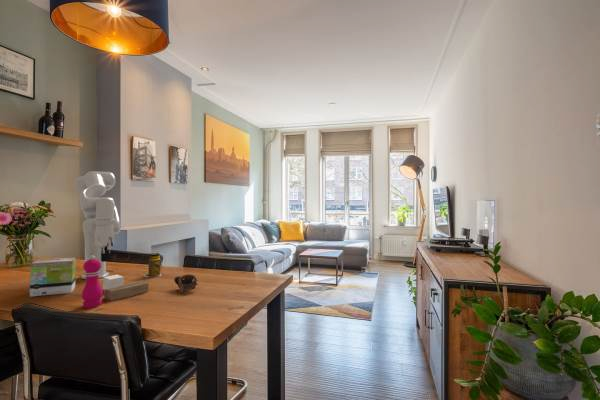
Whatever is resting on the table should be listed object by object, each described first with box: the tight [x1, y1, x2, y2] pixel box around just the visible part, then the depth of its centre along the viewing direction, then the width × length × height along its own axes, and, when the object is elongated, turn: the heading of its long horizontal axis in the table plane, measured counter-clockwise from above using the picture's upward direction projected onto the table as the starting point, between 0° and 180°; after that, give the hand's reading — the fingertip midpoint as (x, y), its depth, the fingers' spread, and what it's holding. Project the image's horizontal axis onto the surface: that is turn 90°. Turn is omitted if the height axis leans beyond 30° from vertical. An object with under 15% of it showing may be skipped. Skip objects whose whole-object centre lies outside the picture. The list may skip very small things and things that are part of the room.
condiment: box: [143, 252, 163, 278], centre depth 173 cm, size 7×8×12 cm
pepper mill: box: [81, 255, 104, 309], centre depth 125 cm, size 7×7×20 cm
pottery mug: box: [173, 273, 199, 294], centre depth 147 cm, size 12×10×8 cm
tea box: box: [29, 257, 77, 298], centre depth 142 cm, size 15×10×15 cm
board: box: [103, 280, 149, 302], centre depth 139 cm, size 6×16×4 cm, turn 144°
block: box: [102, 274, 125, 291], centre depth 147 cm, size 7×6×6 cm
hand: (105, 261), depth 151 cm, fingers closed
